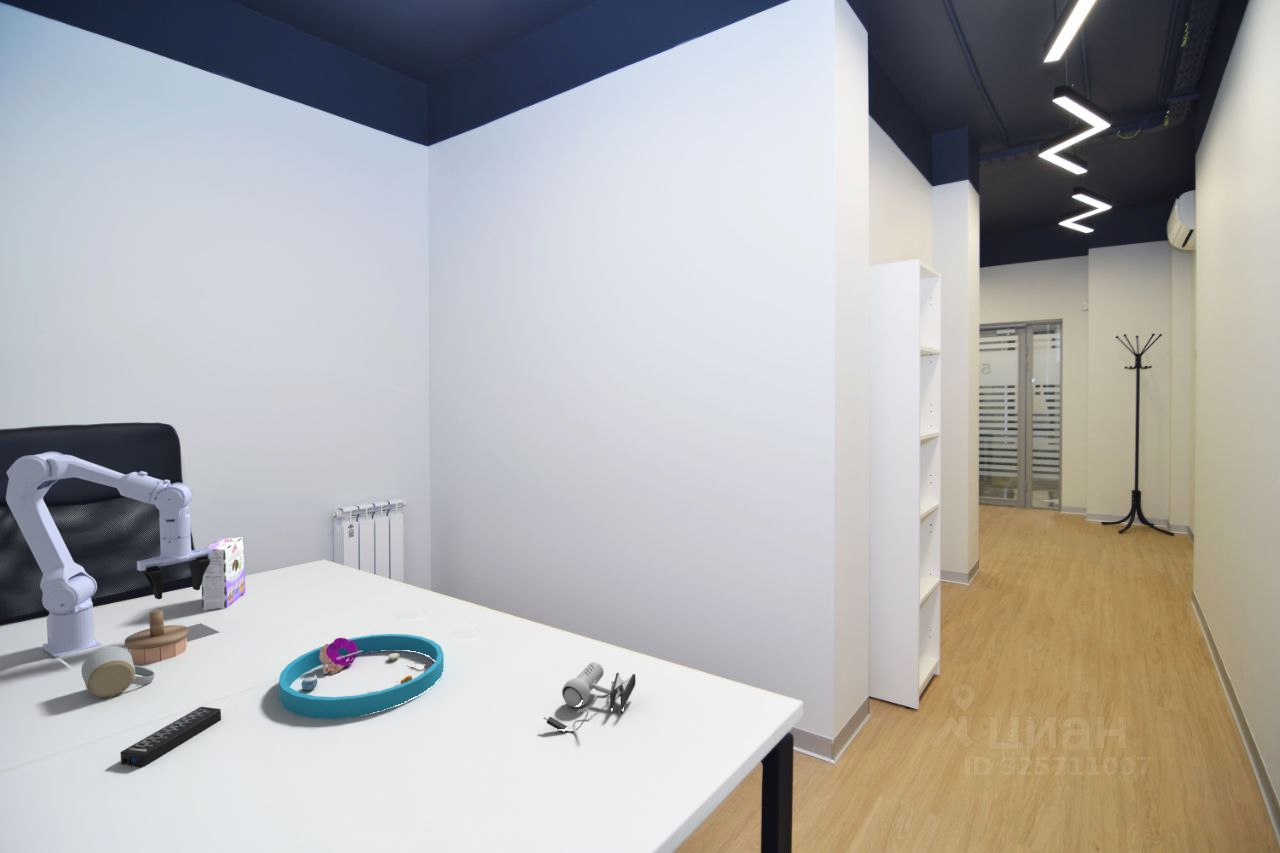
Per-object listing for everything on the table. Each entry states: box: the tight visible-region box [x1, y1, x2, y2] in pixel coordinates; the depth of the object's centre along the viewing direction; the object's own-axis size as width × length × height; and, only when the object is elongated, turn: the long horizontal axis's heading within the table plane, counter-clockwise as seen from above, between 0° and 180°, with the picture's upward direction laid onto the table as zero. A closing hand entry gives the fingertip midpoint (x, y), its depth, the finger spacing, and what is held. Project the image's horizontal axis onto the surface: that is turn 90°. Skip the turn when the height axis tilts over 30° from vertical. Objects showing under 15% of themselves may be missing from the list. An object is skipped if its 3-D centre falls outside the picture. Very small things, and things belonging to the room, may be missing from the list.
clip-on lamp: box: [542, 661, 637, 731], centre depth 114 cm, size 12×6×18 cm
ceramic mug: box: [81, 645, 156, 698], centre depth 122 cm, size 11×8×8 cm
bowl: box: [126, 637, 188, 665], centre depth 137 cm, size 10×10×4 cm
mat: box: [186, 622, 220, 643], centre depth 148 cm, size 10×10×1 cm
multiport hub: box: [120, 706, 222, 768], centre depth 104 cm, size 4×14×2 cm, turn 169°
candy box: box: [201, 536, 246, 611], centre depth 170 cm, size 14×6×16 cm, turn 14°
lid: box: [124, 609, 188, 650], centre depth 137 cm, size 11×11×6 cm
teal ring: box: [278, 633, 445, 720], centre depth 126 cm, size 30×30×6 cm
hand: (177, 593), depth 147 cm, fingers open, 7 cm apart
